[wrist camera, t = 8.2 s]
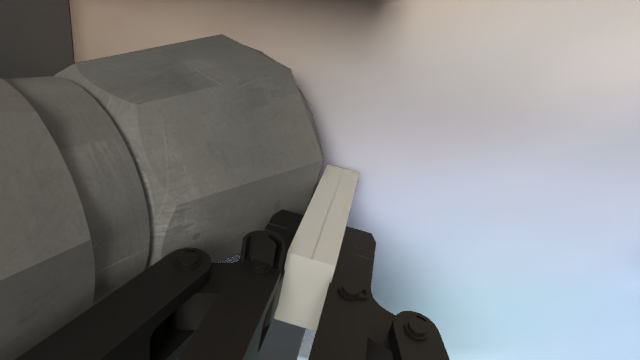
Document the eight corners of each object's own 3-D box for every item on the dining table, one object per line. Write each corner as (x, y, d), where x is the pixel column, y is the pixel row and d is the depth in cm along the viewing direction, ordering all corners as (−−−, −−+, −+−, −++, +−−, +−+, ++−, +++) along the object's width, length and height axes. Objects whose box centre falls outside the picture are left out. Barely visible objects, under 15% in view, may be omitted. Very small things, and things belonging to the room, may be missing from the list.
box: (78, 249, 24) (-12, 321, 19) (37, -146, 15) (-157, -219, 10) (308, 318, 23) (280, 415, 18) (409, -66, 14) (413, -98, 9)
